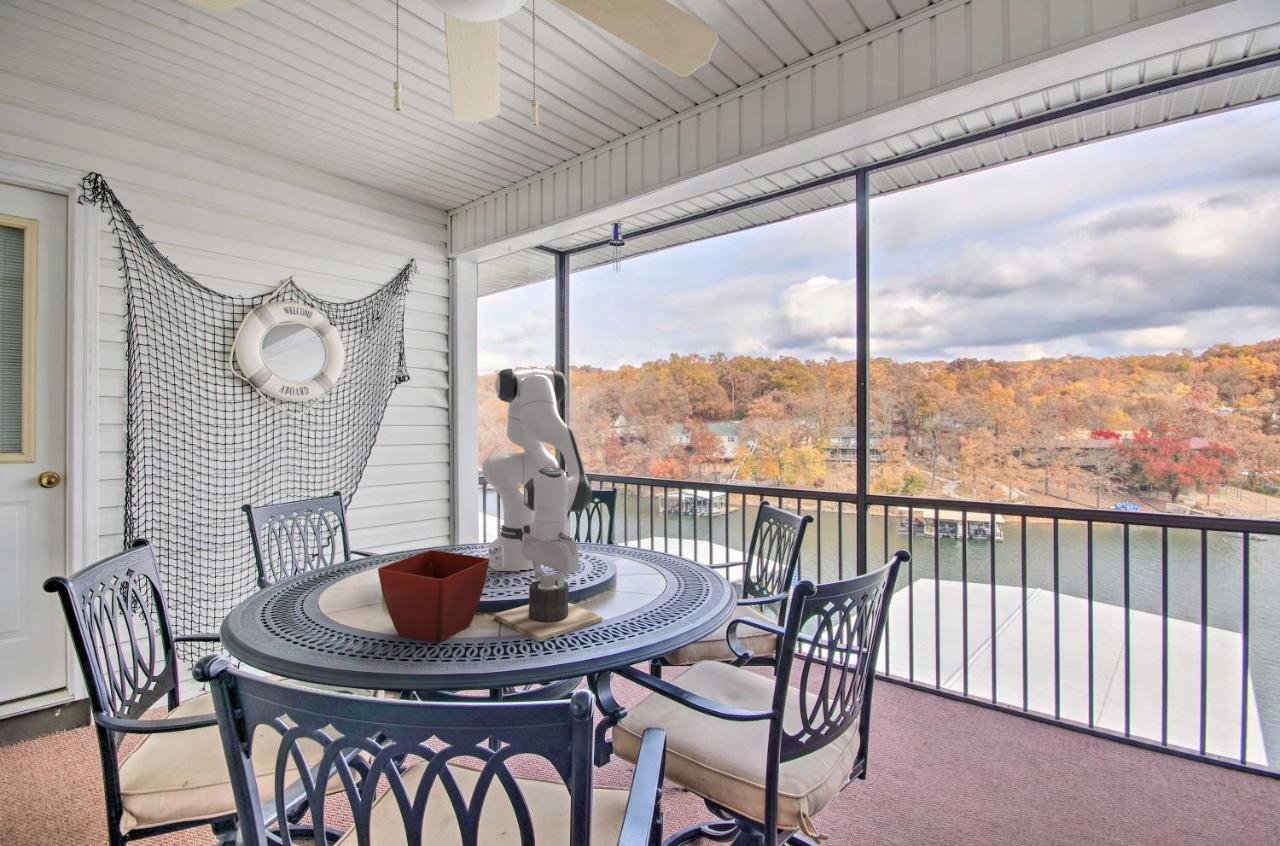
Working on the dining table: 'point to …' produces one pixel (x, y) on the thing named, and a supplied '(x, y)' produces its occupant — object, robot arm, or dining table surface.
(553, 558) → the robot arm
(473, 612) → the plant pot
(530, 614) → the stand
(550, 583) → the white short cylinder
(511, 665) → the dining table surface
